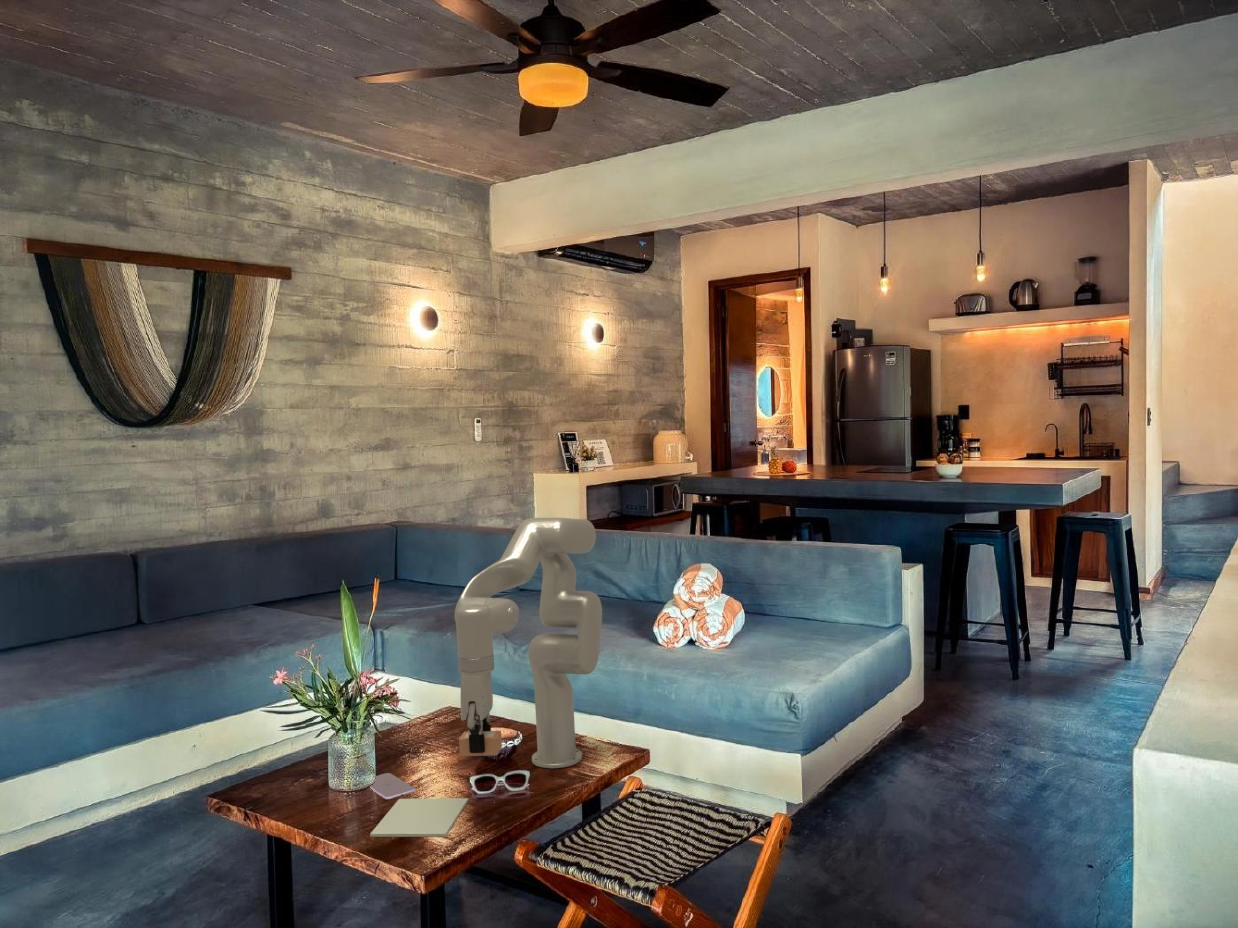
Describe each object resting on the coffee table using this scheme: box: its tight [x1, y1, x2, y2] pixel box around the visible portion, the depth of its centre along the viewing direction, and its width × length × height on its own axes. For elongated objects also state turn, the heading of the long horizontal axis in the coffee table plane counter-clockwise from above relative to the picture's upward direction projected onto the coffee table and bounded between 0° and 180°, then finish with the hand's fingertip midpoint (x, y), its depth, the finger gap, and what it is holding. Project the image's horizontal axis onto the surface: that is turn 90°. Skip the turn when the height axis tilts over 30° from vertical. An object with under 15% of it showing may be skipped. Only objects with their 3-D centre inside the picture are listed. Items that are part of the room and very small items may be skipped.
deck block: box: [458, 730, 503, 757], centre depth 197 cm, size 8×5×4 cm, turn 85°
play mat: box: [369, 797, 469, 838], centre depth 199 cm, size 18×16×1 cm
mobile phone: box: [370, 772, 416, 800], centre depth 218 cm, size 8×1×15 cm
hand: (480, 746), depth 197 cm, fingers closed on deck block, 5 cm apart
